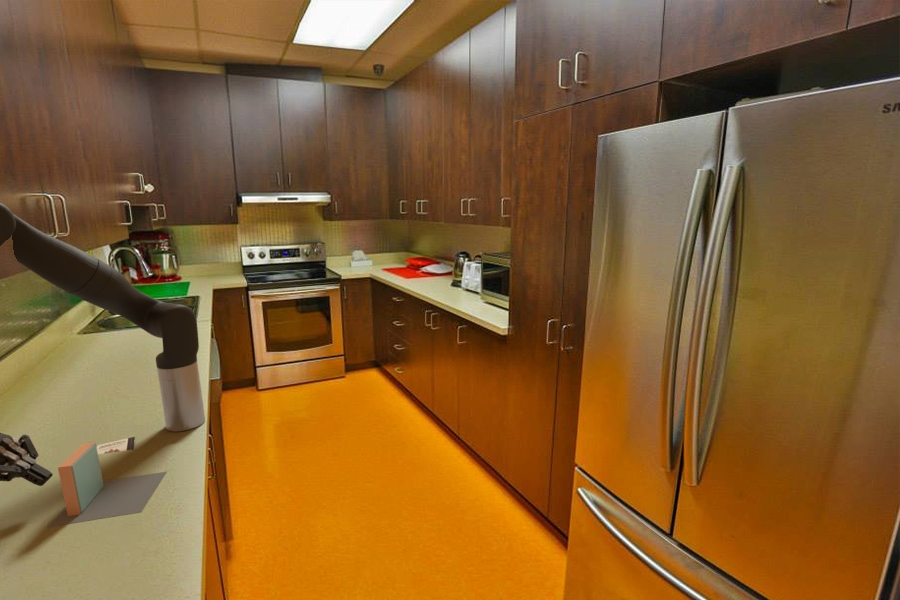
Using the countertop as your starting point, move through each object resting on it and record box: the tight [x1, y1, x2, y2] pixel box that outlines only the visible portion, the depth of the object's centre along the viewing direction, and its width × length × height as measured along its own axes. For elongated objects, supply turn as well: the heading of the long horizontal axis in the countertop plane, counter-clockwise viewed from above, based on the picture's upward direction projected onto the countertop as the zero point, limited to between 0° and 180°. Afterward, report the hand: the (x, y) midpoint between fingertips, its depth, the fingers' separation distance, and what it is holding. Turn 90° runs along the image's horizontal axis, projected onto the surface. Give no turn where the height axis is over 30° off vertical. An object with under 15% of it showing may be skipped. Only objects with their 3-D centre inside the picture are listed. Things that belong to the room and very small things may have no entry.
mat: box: [47, 471, 168, 528], centre depth 90 cm, size 14×15×1 cm
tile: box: [57, 441, 104, 516], centre depth 88 cm, size 9×2×10 cm, turn 14°
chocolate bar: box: [96, 436, 136, 455], centre depth 105 cm, size 9×1×18 cm
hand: (47, 480), depth 86 cm, fingers closed
